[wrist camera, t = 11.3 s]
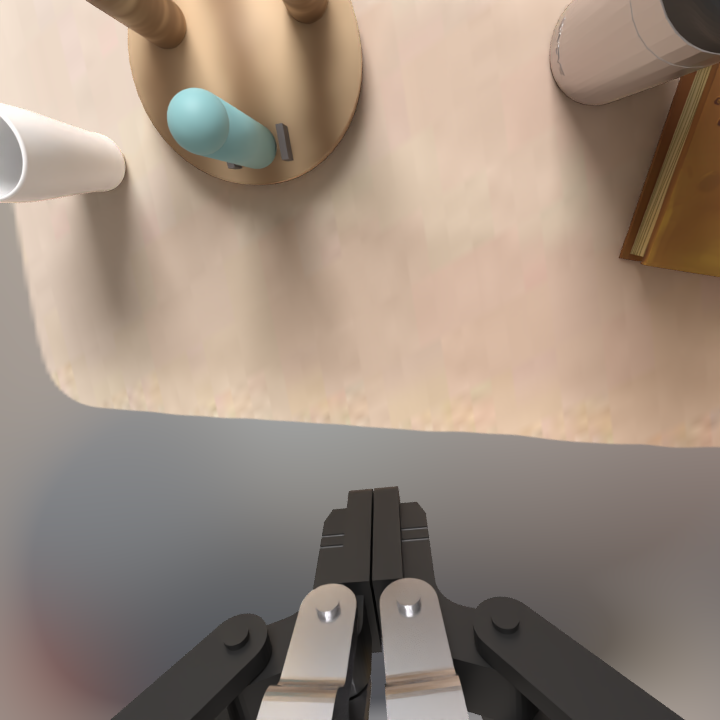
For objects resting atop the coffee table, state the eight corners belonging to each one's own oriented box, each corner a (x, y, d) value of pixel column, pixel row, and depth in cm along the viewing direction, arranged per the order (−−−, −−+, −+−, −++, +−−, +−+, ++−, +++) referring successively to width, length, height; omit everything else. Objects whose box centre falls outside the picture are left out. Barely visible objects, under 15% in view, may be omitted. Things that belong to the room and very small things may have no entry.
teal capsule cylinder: (276, 123, 41) (210, 75, 25) (284, 167, 42) (225, 147, 26) (236, 129, 41) (148, 86, 26) (245, 173, 42) (165, 156, 27)
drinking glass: (136, 132, 45) (24, 107, 31) (134, 205, 47) (30, 212, 33) (66, 118, 45) (-79, 85, 30) (68, 191, 47) (-66, 193, 33)
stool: (344, -92, 38) (311, -352, 20) (375, 168, 45) (372, 154, 27) (115, -45, 40) (-111, -244, 22) (178, 198, 47) (47, 205, 28)
